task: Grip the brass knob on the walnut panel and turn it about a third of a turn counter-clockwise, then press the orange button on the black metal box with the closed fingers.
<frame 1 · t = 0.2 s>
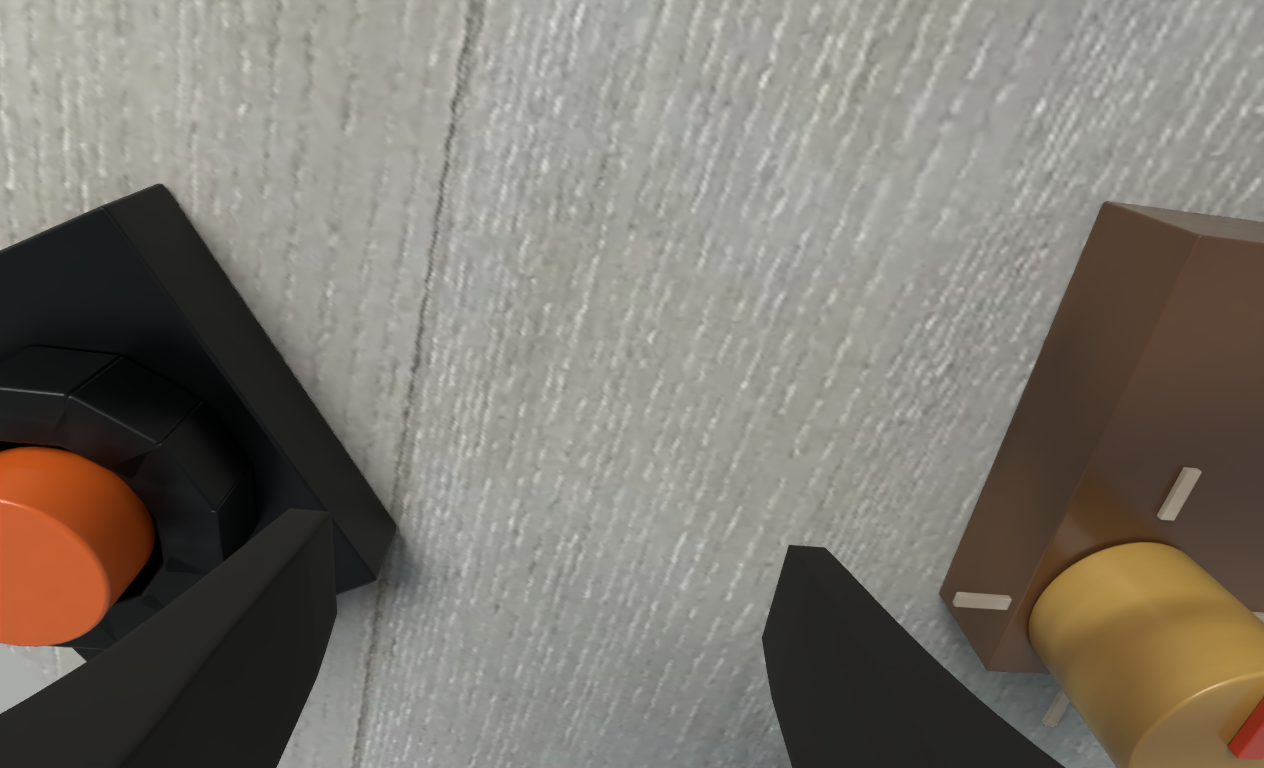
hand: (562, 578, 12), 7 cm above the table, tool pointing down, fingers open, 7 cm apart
button box: (154, 431, 18), on the table
button: (34, 546, 14), point 4 cm above the table, slide at 0.1 cm
knob: (1172, 676, 17), point 5 cm above the table, hinge at 0.0°
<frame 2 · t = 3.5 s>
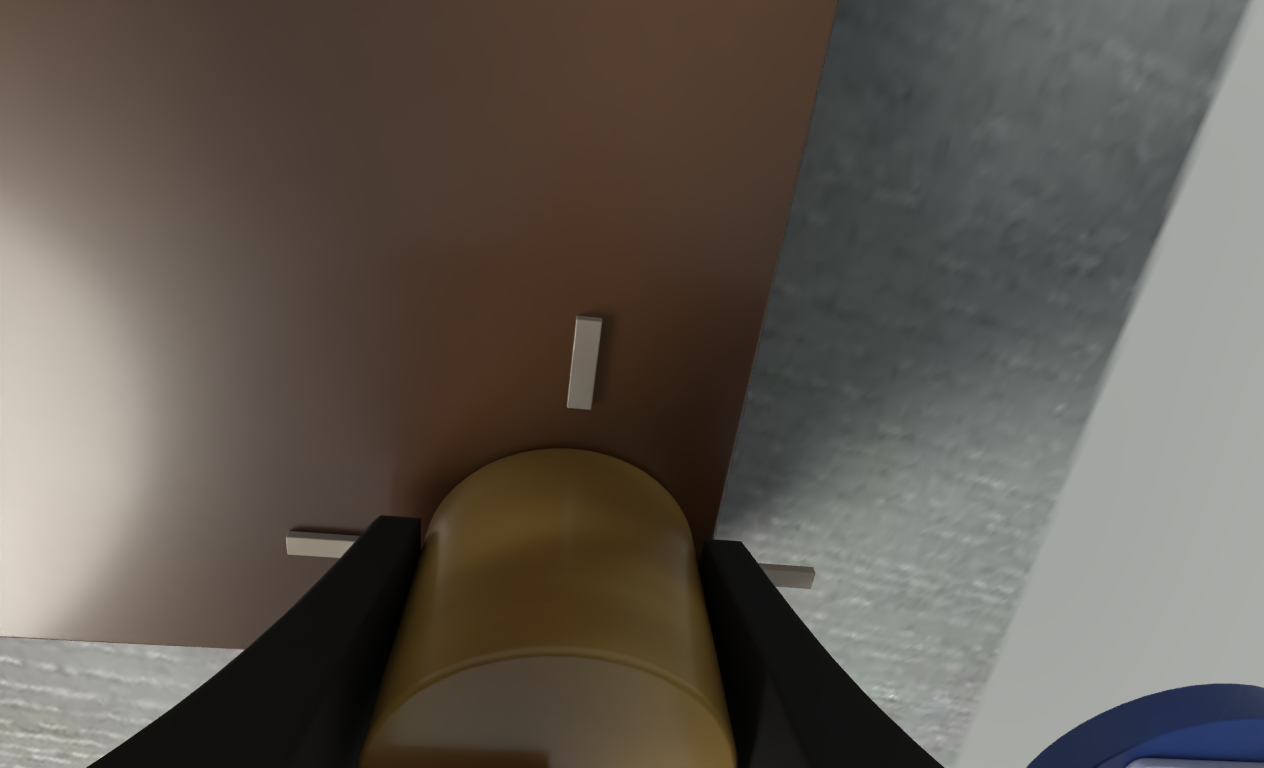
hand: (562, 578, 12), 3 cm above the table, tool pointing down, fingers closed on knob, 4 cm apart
knob panel: (382, 93, 11), on the table
knob: (556, 662, 10), point 5 cm above the table, hinge at -0.2°, touching gripper
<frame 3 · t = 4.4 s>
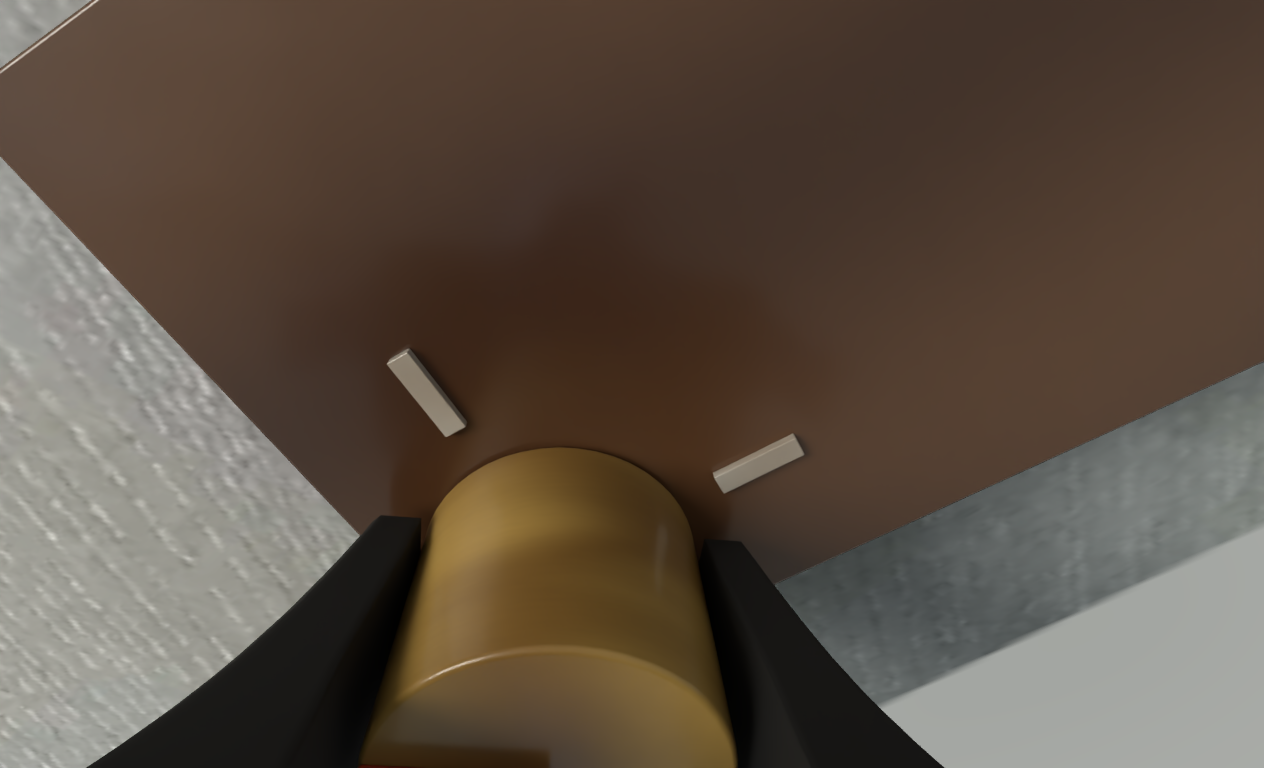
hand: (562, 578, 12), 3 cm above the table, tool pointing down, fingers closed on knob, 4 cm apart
knob panel: (788, 134, 12), on the table
knob: (556, 662, 10), point 5 cm above the table, hinge at 51.7°, touching gripper
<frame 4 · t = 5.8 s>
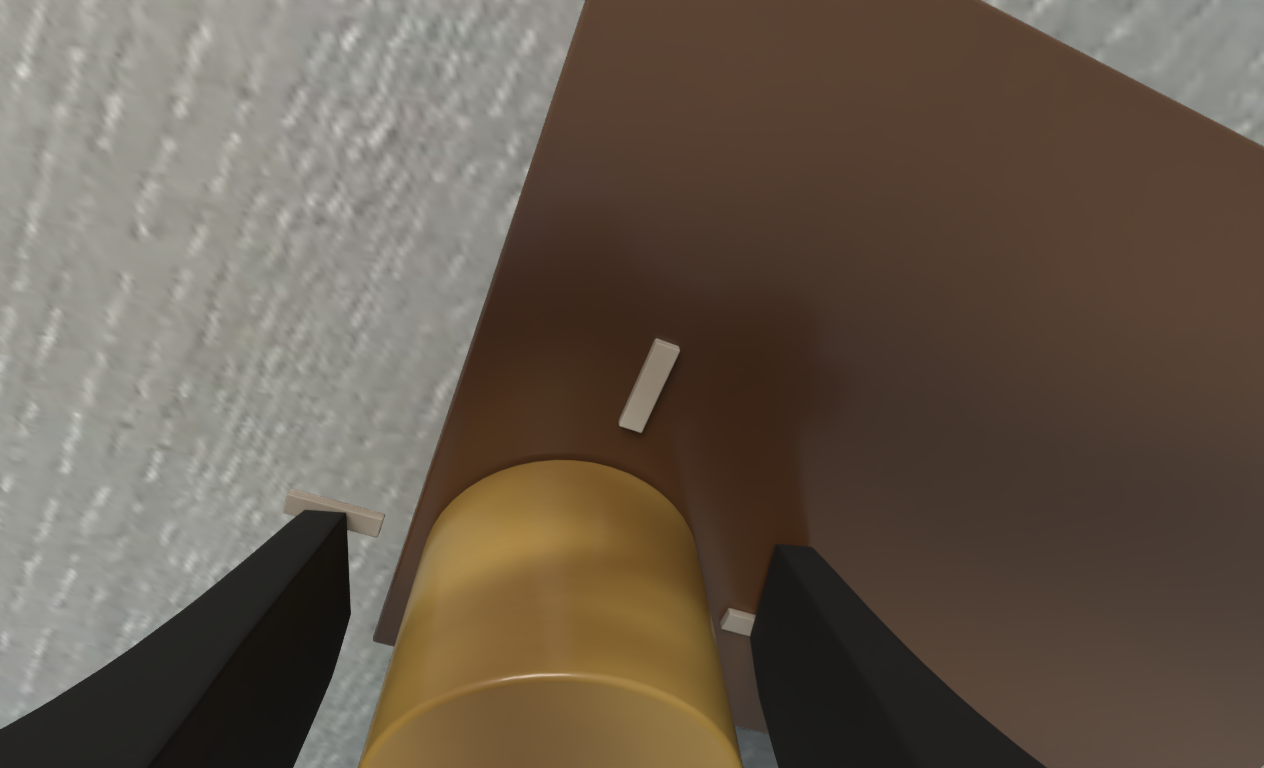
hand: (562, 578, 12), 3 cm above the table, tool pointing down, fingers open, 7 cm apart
knob panel: (936, 422, 14), on the table
knob: (558, 682, 10), point 5 cm above the table, hinge at 104.7°
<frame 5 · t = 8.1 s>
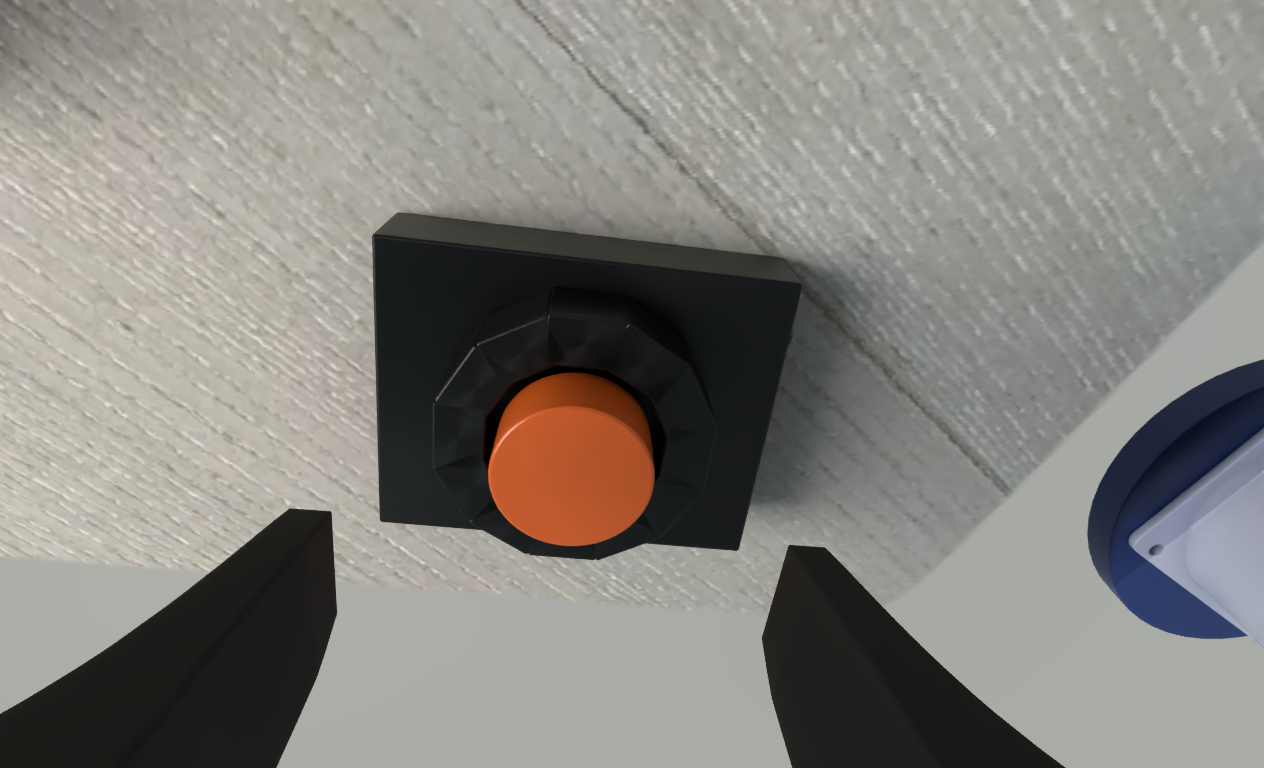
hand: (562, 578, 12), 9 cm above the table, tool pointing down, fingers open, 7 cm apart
button box: (579, 374, 20), on the table
button: (573, 459, 16), point 4 cm above the table, slide at 0.1 cm
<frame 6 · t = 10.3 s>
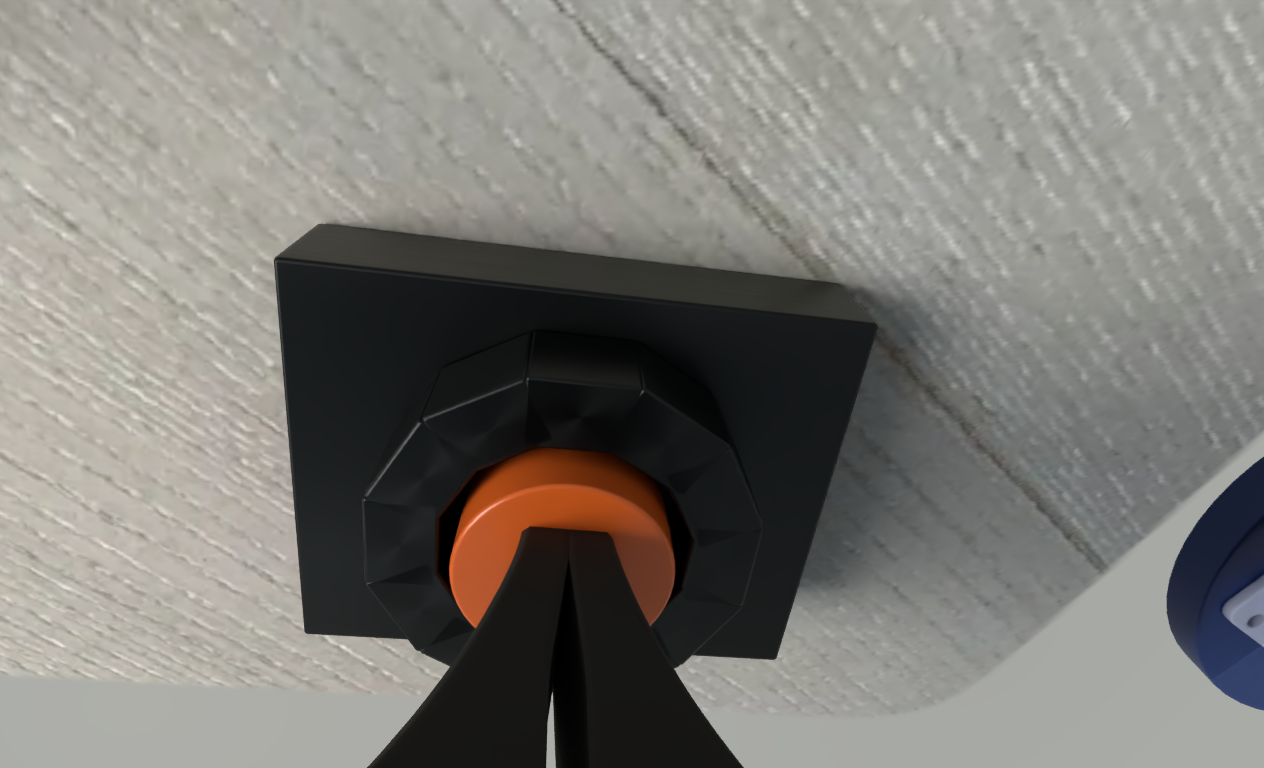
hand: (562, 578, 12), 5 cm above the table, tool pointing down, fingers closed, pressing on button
button box: (569, 433, 16), on the table
button: (564, 544, 12), point 4 cm above the table, slide at -0.7 cm, touching gripper
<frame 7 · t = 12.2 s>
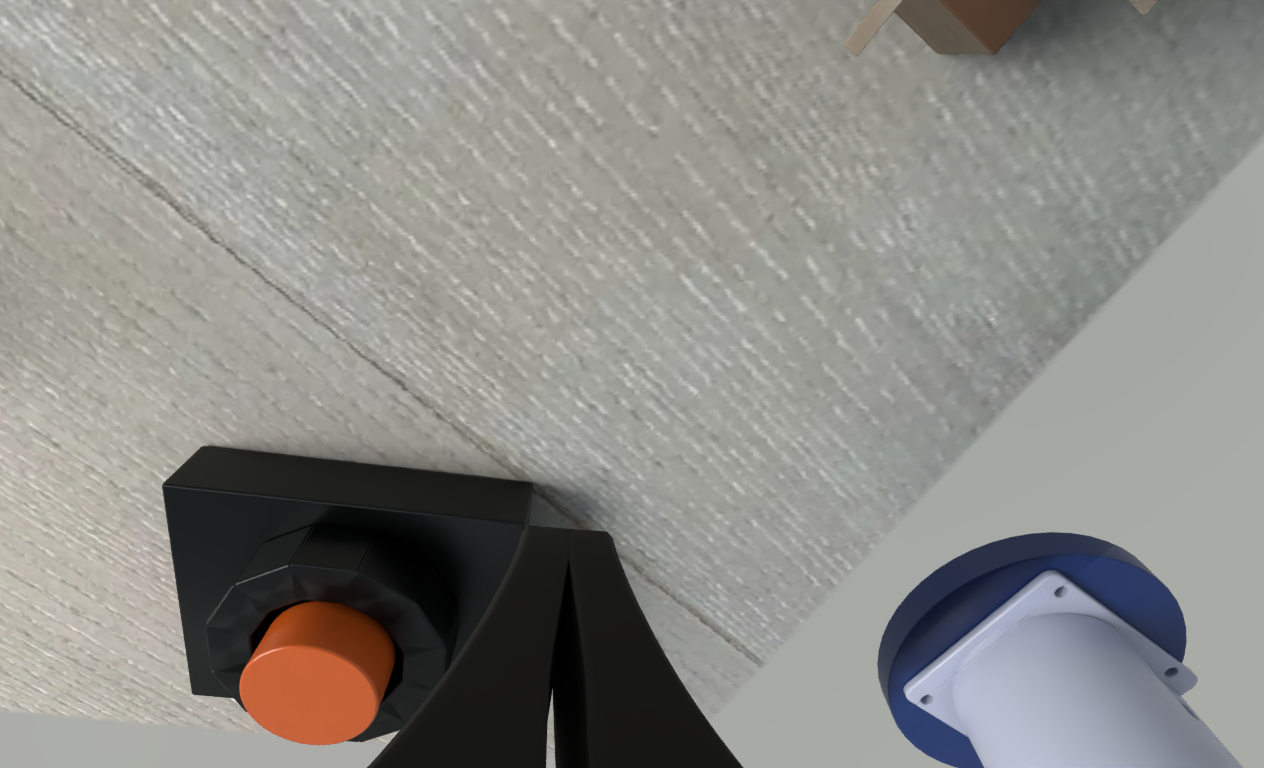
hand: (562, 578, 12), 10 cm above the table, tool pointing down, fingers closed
button box: (370, 567, 24), on the table
button: (320, 672, 20), point 4 cm above the table, slide at 0.1 cm
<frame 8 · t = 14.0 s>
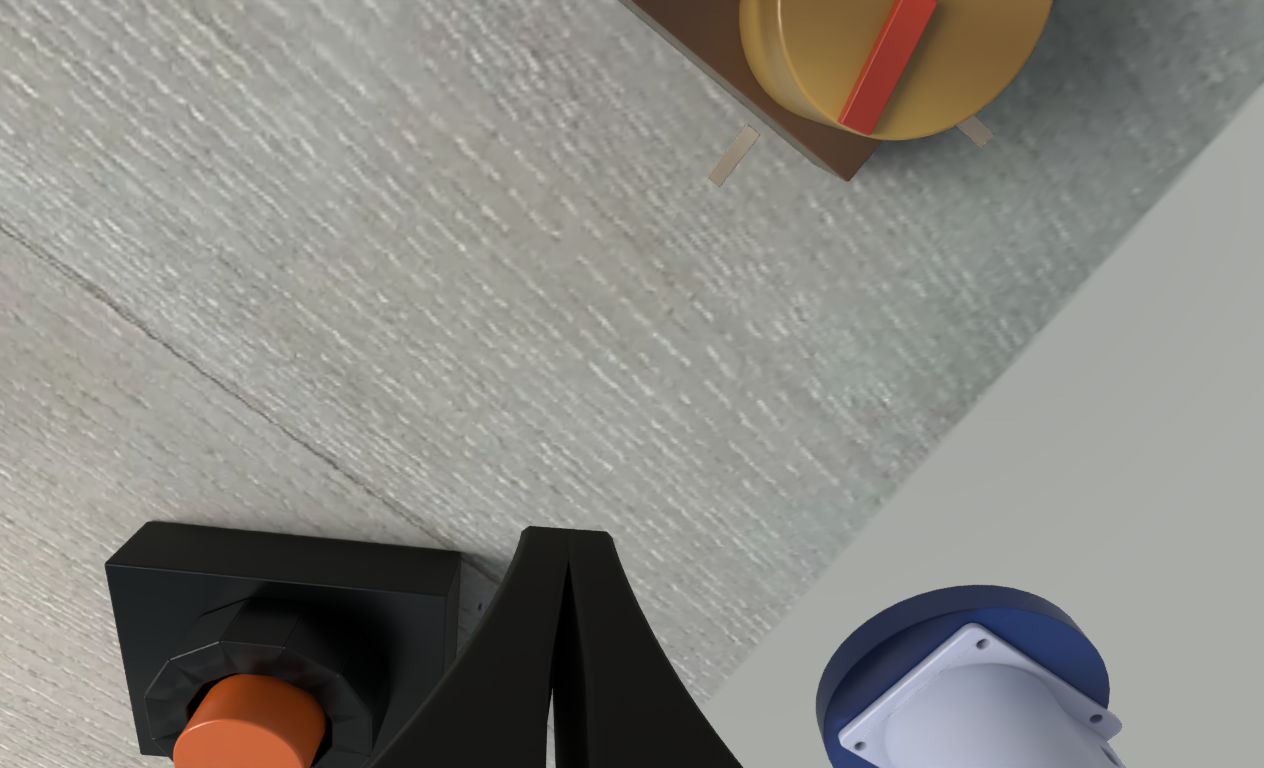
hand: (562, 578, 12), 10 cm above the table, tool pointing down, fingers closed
button box: (311, 631, 25), on the table
button: (252, 740, 21), point 4 cm above the table, slide at 0.1 cm
knob: (879, 1, 13), point 5 cm above the table, hinge at 104.7°
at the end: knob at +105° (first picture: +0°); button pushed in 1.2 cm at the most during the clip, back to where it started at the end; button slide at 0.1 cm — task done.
